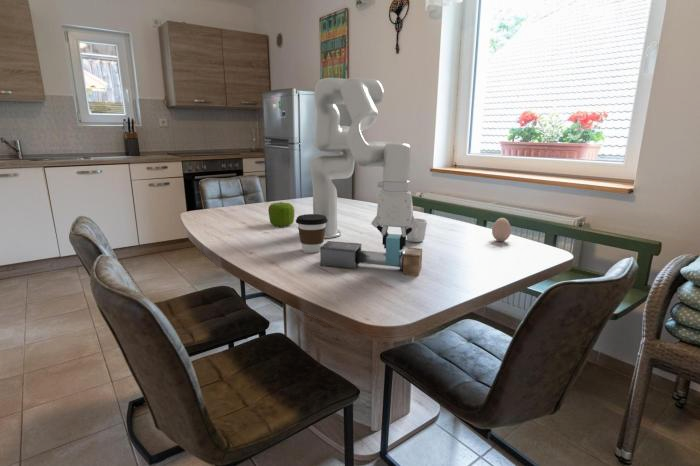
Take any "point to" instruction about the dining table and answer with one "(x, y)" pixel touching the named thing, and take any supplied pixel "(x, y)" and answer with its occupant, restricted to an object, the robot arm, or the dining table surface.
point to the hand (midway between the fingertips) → (394, 247)
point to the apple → (281, 214)
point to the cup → (418, 231)
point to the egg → (501, 229)
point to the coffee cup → (311, 231)
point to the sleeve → (339, 254)
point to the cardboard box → (412, 261)
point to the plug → (384, 254)
